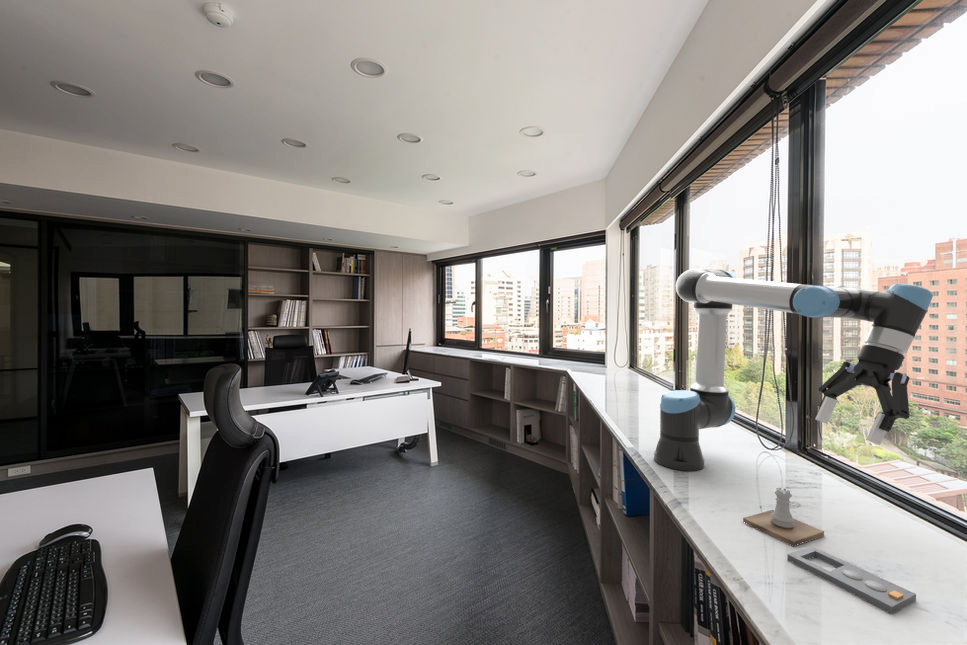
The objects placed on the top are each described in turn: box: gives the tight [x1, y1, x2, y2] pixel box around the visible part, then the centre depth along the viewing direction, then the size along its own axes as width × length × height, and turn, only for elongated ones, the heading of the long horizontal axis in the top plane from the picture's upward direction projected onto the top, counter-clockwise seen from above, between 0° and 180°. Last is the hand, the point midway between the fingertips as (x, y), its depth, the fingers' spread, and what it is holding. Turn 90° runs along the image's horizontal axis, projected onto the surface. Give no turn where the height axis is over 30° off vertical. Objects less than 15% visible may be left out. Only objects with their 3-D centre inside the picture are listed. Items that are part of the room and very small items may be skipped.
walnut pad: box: [742, 509, 825, 547], centre depth 94 cm, size 11×11×1 cm
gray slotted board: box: [786, 545, 917, 615], centre depth 76 cm, size 16×8×2 cm, turn 23°
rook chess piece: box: [771, 487, 795, 529], centre depth 94 cm, size 4×4×8 cm
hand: (845, 431), depth 98 cm, fingers open, 13 cm apart
